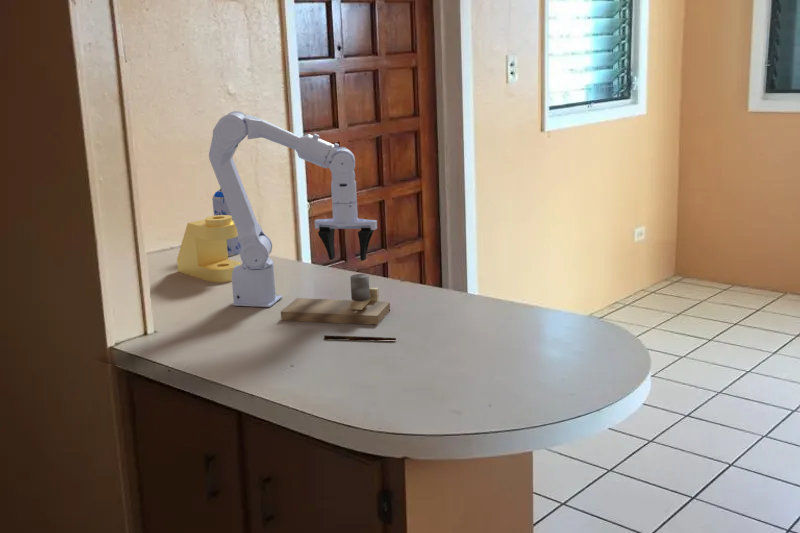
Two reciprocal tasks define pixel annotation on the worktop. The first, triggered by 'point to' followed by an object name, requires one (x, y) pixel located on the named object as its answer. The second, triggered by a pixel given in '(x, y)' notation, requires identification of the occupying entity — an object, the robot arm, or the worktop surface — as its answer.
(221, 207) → the aerosol can
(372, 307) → the board
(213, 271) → the yellow bracket
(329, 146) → the robot arm
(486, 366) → the worktop surface
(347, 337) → the dark notched rod
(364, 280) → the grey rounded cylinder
